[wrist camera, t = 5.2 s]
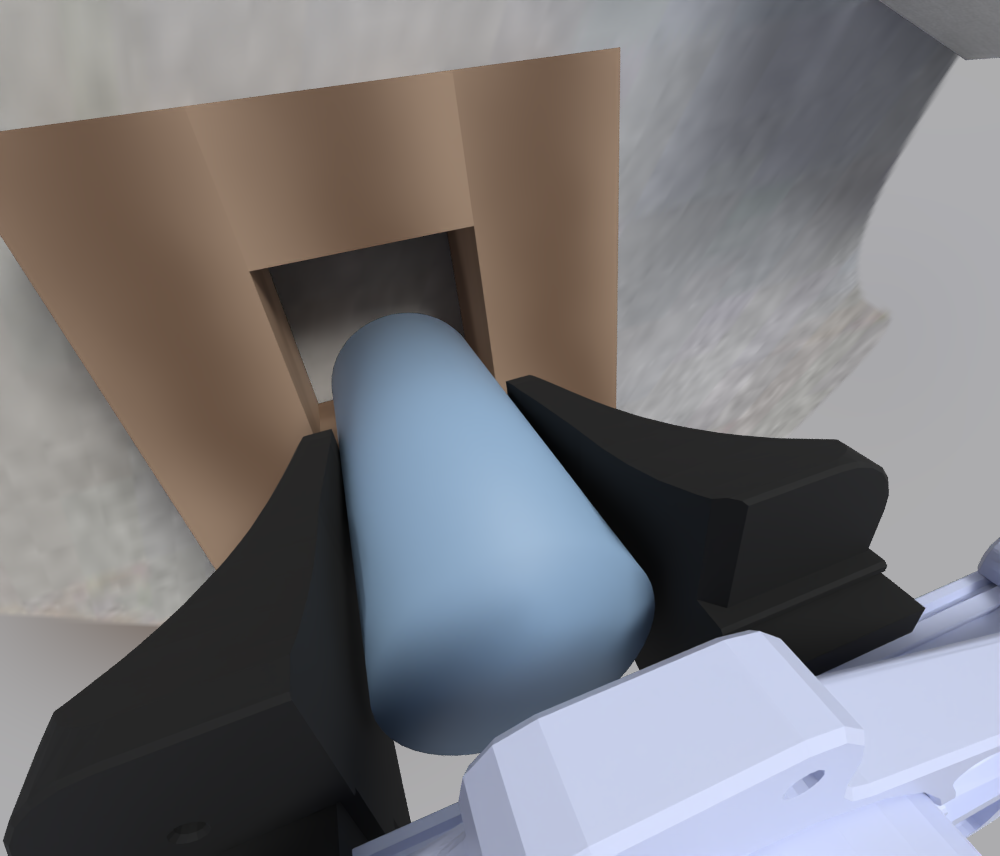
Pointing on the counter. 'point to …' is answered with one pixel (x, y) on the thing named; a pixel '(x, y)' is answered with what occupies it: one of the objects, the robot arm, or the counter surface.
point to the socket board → (314, 249)
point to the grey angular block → (956, 24)
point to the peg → (470, 547)
